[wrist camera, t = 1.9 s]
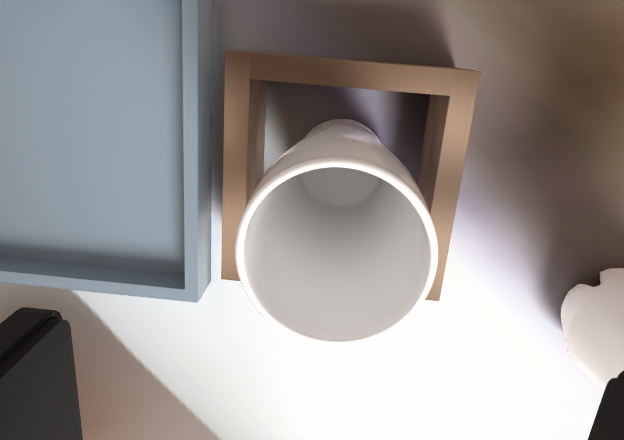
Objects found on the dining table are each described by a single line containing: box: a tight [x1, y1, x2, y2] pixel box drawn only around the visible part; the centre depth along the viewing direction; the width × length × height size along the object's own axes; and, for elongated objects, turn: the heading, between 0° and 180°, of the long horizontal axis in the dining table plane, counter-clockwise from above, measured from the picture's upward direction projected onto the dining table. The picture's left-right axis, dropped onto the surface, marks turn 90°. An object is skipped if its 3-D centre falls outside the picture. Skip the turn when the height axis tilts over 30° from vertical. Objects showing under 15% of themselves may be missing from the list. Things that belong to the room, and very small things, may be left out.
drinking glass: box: [235, 119, 438, 346], centre depth 23 cm, size 7×7×15 cm
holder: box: [221, 51, 481, 301], centre depth 27 cm, size 12×12×6 cm
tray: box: [0, 0, 213, 302], centre depth 29 cm, size 18×16×3 cm
